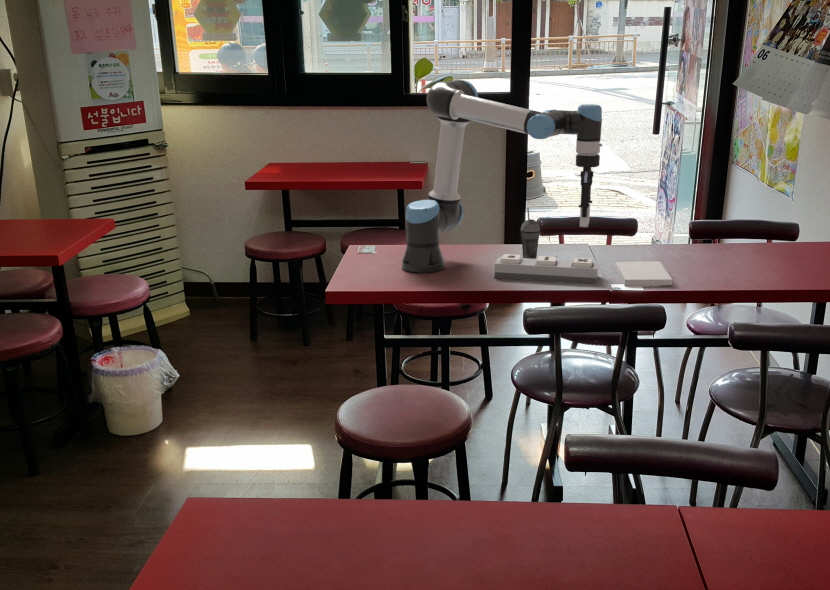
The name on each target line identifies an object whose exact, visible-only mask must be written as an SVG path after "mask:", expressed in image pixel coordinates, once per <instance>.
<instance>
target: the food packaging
mask: <svg viewBox="0 0 830 590" xmlns="http://www.w3.org/2000/svg"><path fill="white" fill-rule="evenodd" d="M615 268H616V272H617V274H618V277H619V278H620V281H621V282H622V285H624V287H654V288H655V287H656V288H657V287H663V286H664V287H665V286H673V278H672V277H671V276H670V274H669V273H668V271H667V269H665V266H664V265H663V264H662V263H661V261H615Z"/></svg>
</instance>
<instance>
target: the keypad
mask: <svg viewBox="0 0 830 590" xmlns="http://www.w3.org/2000/svg"><path fill="white" fill-rule="evenodd" d="M502 257H503V256H498V258H497V259H496V261H495V263H494V272H493V274H494V277H497V278H496V279H507V278H510V279H509V280H524V279H530V280H529V281H541V280H546V281H545V282H558V281H563V283H575V282H579V283H580V284H592V283H596V282H597V281H598V277H599V275H598V273H599V262H598V261H592V268H581V267H573V261H574V260H562V259H556V266H544V265H537V259H538V258H536V259H528V258H523V257H521V263H520V264H507V263H501V258H502ZM494 277H493V278H494ZM498 277H499V278H498ZM564 281H565V282H564ZM596 284H597V283H596Z"/></svg>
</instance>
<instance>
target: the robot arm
mask: <svg viewBox="0 0 830 590" xmlns="http://www.w3.org/2000/svg"><path fill="white" fill-rule="evenodd" d="M426 104H427V105H426V106H427V107H428V109H429V110H430V112H431V113H433V115H435V116H436V118H437V120H438V121H439V123H440V128H439V137H438V146H437V147H438V148H437V157H436V162H435V163H436V164H435V173H434V182H433V189H432V190H431V191H429V192H428V195H427V196H428V197H427V199H420V200H416V201H413V202H410V203H408V205H407V206H406V208H405V209H406V210H405V227H406V228H405V229H406V230H405V231H406V232H405V233H406V248H405V251H404V255H403V258H402V260H401V268H403V269H402V270H404V271H406V270H407V271H406V272H409V271H410V273H415V272H417V274H419V273H420V274H428V272H430V273H435V272H439V271H440V272H441V271H442V270H444V269H445V260H444V259H445V258H444V257H443V253H442V251H441V248H440V234H442V233H444V232H449V231H451V230H453V229H454V228H456V227H457V226H458V225H460V223H461V222H462V221H463V217H464V206H463V205H462V202H461V195H460V194H459V193H458V187H459V186H458V185H459V178H460V169H461V164H462V162H461V160H462V153H463V145H464V137H465V131H466V130H465V129H466V126H467V125H469V124H470V123H471V121H473V122H476V123H481V124H485V125H489V126H493V127H497V128H500V129H501V128H502V129H505V130H510V131H513V132H517V133H522V134H525V135H529V136H530V137H531V138H533V139H535V140H546V139H548V138H550V137H555V136H559V135H576V143H575V145H576V148H575V153H576V155H575V166H576V167H578V168H583V169H582V170H580V174H579V175H580V186H581V187H580V188H581V189H580V191H581V193H580V194H581V195H580V204H578V208H580V211H579V228H589V224H590V214H591V212H590V211H591V204H592V203H593V200H591V198H592V197H591V195H592V184H593V178H594V171H593V170H592V168H597V167H599V166H600V159H601V156H600V153H601V148H602V147H603V143H601V139H602V138H601V137H602V124H603V118H602V117H603V111H602V110H603V108H602V106H601V105H599V104H595V103H594V104H580V105H578V107H577V110H565V109H564V110H561V109H558V110H557V109H546V110H544V111H543V112H541V111H539V110H538V111H537V110H532V109H530V108H524V107H521V106H520V107H519V106H516V105H511V104H506V103H503V102H499V101H495V100H490V99H486V98H481V97H479V94H478V91H477V89H476V88H475V86H474V85H473V83H471V82H469V81H467V80H465V79H453V80H447V81H446V80H445V81H443V80H442V81H438V82H436V83H434V84H433V85H432V86H431V87H430V88H429V90H428V92H427V94H426Z"/></svg>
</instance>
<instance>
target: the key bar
mask: <svg viewBox="0 0 830 590" xmlns="http://www.w3.org/2000/svg"><path fill="white" fill-rule="evenodd" d="M536 259H537V265H544V266H556V260H557V256H548V255H547V256H546V255H538V256H537V258H536Z"/></svg>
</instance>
